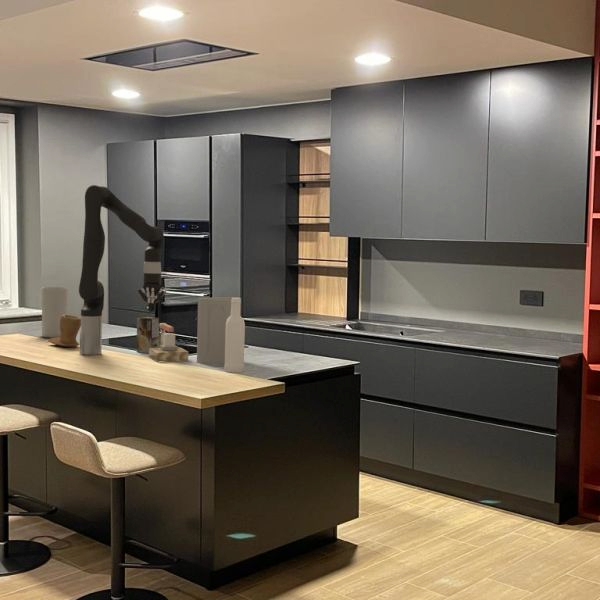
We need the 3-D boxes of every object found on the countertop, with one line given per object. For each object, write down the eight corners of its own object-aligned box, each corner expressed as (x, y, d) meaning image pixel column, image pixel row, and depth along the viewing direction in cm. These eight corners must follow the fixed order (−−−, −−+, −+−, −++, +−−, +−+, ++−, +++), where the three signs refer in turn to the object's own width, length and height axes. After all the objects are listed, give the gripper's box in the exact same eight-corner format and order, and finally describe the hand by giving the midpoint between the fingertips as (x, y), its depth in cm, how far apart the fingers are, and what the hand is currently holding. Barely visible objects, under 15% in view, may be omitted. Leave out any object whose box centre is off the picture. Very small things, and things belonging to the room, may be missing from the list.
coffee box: (160, 352, 396) (160, 317, 395) (151, 353, 390) (152, 318, 389) (144, 350, 400) (145, 316, 399) (135, 352, 394) (136, 317, 393)
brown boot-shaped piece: (86, 347, 406) (86, 315, 405) (63, 348, 397) (63, 316, 396) (69, 343, 417) (70, 312, 415) (47, 345, 408) (47, 313, 407)
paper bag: (211, 367, 357) (213, 300, 355) (196, 362, 370) (197, 297, 368) (251, 364, 368) (253, 299, 366) (234, 359, 380) (236, 297, 378)
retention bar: (167, 331, 371) (168, 327, 371) (158, 327, 386) (158, 323, 386) (174, 331, 373) (174, 327, 372) (165, 327, 388) (165, 323, 387)
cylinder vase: (36, 336, 436) (37, 288, 434) (50, 334, 448) (51, 286, 446) (58, 338, 433) (58, 289, 431) (71, 335, 445) (72, 287, 443)
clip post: (158, 356, 383) (158, 329, 382) (155, 354, 388) (156, 328, 387) (169, 355, 385) (169, 329, 384) (166, 354, 390) (166, 327, 389)
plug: (162, 360, 372) (163, 335, 371) (159, 358, 378) (159, 333, 377) (177, 359, 375) (178, 335, 374) (173, 357, 381) (174, 333, 380)
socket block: (156, 361, 367) (156, 352, 367) (149, 357, 380) (149, 348, 380) (188, 360, 373) (188, 351, 373) (179, 356, 386) (179, 347, 385)
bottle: (234, 368, 355) (235, 297, 353) (247, 371, 350) (249, 298, 348) (220, 370, 349) (222, 297, 347) (234, 373, 344) (236, 299, 342)
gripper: (134, 271, 372) (134, 311, 373) (162, 273, 368) (161, 313, 369) (142, 271, 379) (142, 310, 380) (169, 272, 375) (169, 311, 376)
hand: (152, 311), depth 375 cm, fingers closed
